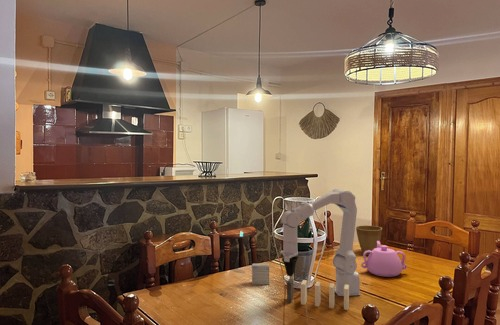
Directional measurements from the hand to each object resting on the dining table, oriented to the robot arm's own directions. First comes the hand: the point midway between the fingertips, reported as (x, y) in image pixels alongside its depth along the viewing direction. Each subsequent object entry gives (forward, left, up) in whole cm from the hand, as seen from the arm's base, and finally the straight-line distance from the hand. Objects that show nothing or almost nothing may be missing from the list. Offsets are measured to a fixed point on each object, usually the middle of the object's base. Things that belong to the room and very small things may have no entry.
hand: (290, 274), depth 146 cm
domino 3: (-10, +5, -10) cm, 15 cm away
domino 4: (-15, +7, -10) cm, 20 cm away
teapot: (-55, -30, -11) cm, 64 cm away
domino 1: (0, 0, -10) cm, 10 cm away
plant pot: (-63, -63, -11) cm, 90 cm away
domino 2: (-5, +2, -10) cm, 12 cm away
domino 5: (-20, +9, -10) cm, 24 cm away
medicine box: (+9, -21, -11) cm, 26 cm away
